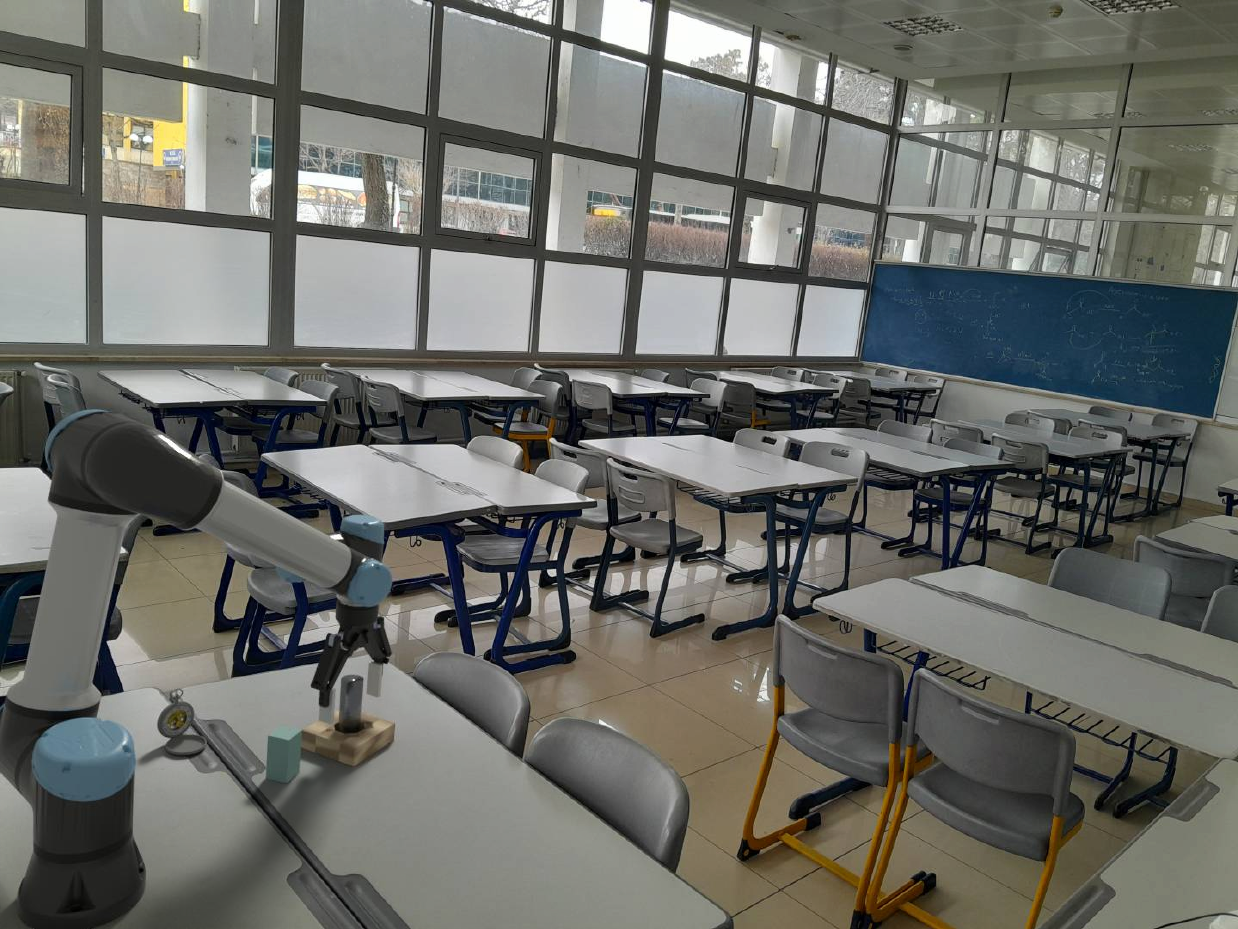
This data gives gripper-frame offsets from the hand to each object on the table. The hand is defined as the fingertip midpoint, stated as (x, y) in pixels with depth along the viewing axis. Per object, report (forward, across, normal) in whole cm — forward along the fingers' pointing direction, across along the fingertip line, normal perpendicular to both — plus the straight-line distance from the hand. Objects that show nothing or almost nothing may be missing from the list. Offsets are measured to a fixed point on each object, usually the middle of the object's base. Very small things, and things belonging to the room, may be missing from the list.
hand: (350, 708), depth 172 cm
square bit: (+7, -15, +2) cm, 17 cm away
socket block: (+7, 0, 0) cm, 7 cm away
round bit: (+7, 0, 0) cm, 7 cm away
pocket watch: (+7, -17, +23) cm, 29 cm away
